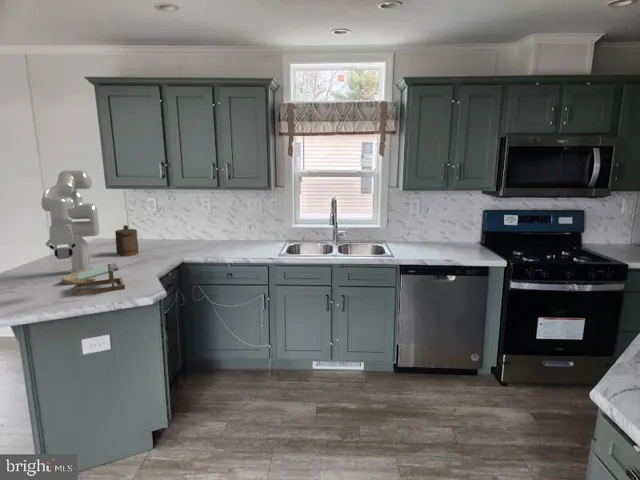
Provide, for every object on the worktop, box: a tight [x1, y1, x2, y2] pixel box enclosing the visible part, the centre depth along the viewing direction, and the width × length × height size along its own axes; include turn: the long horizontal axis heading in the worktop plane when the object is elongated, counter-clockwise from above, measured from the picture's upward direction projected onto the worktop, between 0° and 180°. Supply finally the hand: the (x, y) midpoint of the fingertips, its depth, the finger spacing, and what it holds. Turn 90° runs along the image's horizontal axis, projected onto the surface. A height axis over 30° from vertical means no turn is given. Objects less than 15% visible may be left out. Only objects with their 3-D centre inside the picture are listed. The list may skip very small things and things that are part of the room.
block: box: [57, 246, 71, 260], centre depth 207 cm, size 5×5×5 cm
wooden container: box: [114, 224, 140, 257], centre depth 296 cm, size 15×15×22 cm
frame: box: [73, 263, 126, 297], centre depth 216 cm, size 17×23×11 cm
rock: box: [61, 269, 97, 285], centre depth 231 cm, size 18×15×4 cm
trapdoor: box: [78, 262, 119, 281], centre depth 215 cm, size 14×19×2 cm
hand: (64, 256), depth 207 cm, fingers closed on block, 5 cm apart
